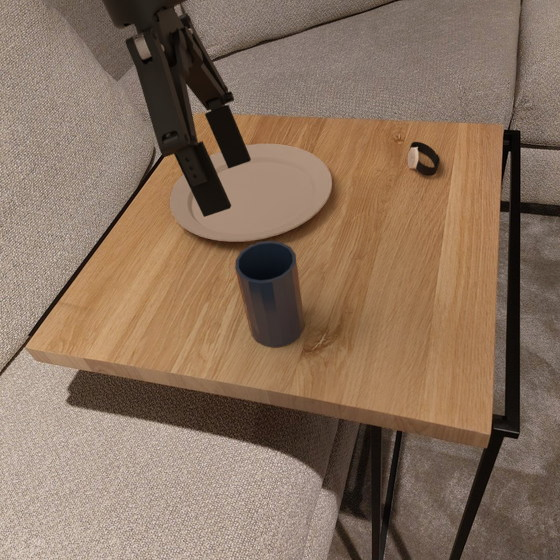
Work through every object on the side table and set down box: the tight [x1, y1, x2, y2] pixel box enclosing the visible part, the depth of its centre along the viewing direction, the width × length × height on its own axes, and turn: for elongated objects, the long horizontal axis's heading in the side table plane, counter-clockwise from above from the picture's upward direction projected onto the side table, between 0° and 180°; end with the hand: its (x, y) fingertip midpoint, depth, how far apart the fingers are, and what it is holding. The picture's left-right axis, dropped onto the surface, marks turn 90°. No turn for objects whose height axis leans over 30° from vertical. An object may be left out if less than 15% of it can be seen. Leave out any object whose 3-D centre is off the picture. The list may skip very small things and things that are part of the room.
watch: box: [407, 141, 441, 177], centre depth 92 cm, size 8×5×4 cm, turn 7°
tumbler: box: [234, 240, 306, 348], centre depth 69 cm, size 7×7×11 cm
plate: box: [169, 143, 333, 243], centre depth 92 cm, size 26×26×2 cm
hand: (229, 185), depth 61 cm, fingers open, 13 cm apart
